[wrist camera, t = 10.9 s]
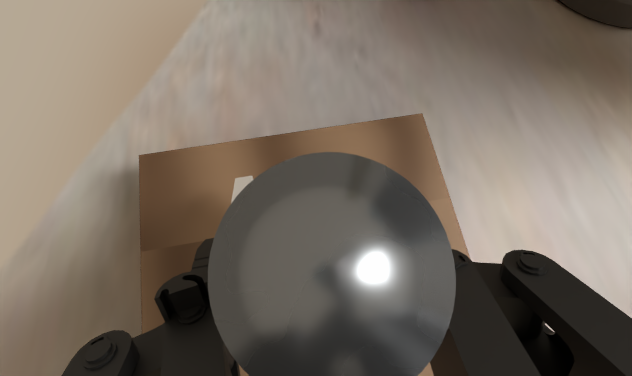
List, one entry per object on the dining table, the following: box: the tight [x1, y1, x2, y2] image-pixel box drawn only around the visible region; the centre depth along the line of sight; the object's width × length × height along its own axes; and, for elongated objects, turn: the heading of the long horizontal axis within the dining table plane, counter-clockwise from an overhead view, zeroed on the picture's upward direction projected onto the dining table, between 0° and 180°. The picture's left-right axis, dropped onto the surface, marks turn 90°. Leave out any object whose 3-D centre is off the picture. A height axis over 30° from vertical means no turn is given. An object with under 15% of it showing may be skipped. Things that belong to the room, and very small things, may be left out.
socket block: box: [139, 114, 470, 376], centre depth 17 cm, size 16×16×4 cm
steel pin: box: [208, 152, 456, 376], centre depth 11 cm, size 4×4×12 cm
